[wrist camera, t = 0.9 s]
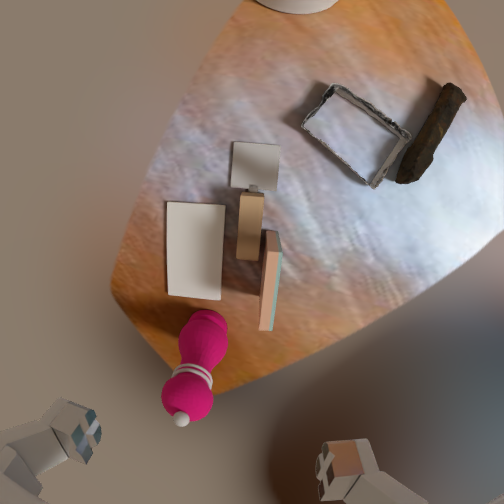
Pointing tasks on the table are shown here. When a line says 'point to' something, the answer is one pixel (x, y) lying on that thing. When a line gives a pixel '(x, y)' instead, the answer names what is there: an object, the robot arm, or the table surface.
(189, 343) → the pepper mill
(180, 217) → the pad
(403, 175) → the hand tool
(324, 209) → the table surface
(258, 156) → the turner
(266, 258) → the tile
